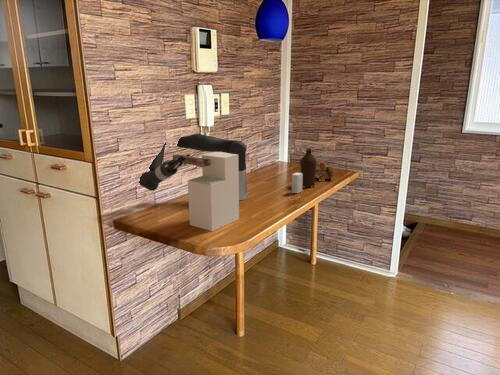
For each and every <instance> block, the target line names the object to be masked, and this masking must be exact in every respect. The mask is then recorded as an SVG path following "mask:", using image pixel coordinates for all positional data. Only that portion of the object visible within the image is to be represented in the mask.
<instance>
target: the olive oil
mask: <svg viewBox="0 0 500 375" xmlns="http://www.w3.org/2000/svg"><path fill="white" fill-rule="evenodd" d="M317 164H318V163H317V160H316V157H315V156H314V155H313V154H312V147H306V150H305V155H303V156H302V157H301V159H300V161H299V173H303V181H302V186H305V187H311V186H314V185H316V179H315V177H316V176H317V174H316V169H317V167H316V166H317ZM305 187H304V188H305ZM314 187H315V186H314Z"/></svg>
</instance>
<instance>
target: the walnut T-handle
mask: <svg viewBox="0 0 500 375" xmlns="http://www.w3.org/2000/svg"><path fill="white" fill-rule="evenodd" d="M183 155H184V157H185V160H184V161H182V162H180V163H185V164H186V165H192V166H196V168H197V167H198V168H202V167H205V166H209V165H211V163H210V159H209V158H202V157H199V156H198V157H197V156H191V155H190V156H186V155H185V154H173V155H172V160H173V159H176V158H179V157H181V156H183Z"/></svg>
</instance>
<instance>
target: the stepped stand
mask: <svg viewBox="0 0 500 375" xmlns="http://www.w3.org/2000/svg"><path fill="white" fill-rule="evenodd" d="M201 158H209V159H210V163H211V165H209V166H205V167H201V169H202V172H201V173H202V175H201V176H197V177H194V178H190V179H188V180H187V193H188V196H187V197H188V214H189V225H190V226H192V227H196V228H200V229H204V230H206V231H210V232H214V231H216V230H218V229H221V228H222V227H225V226H227V225H228V224H230V223H233V222H236V221H238V220H239V219H240V200H239V167H238V155H237V154H229V153H225V152H207V153H203V154H201Z"/></svg>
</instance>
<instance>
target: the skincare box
mask: <svg viewBox="0 0 500 375" xmlns="http://www.w3.org/2000/svg"><path fill="white" fill-rule="evenodd" d="M302 181H303V173H300V172H294V173H292V174H291V193H292V192H293V193H299V192H301V191H302V192H303V187H302ZM302 192H301V193H302ZM293 193H292V194H293ZM299 194H300V193H299Z"/></svg>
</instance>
